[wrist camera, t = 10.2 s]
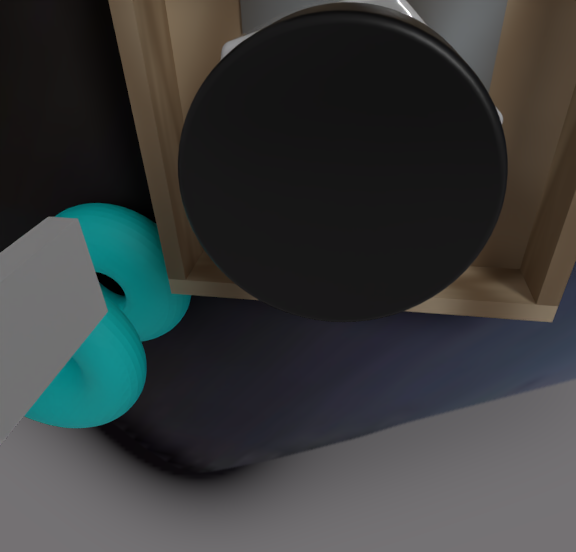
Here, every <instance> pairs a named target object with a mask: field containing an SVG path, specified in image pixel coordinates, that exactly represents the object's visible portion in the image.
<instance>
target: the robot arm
mask: <svg viewBox="0 0 576 552" xmlns="http://www.w3.org/2000/svg"><path fill="white" fill-rule="evenodd" d="M107 312H108V309H107V306H106V303H105V300H104V297H103V294H102V291H101V288H100V285H99V282H98V278H97V275H96V272H95V269H94V266H93V263H92V260H91V257H90V254H89V251H88V248H87V245H86V242H85V239H84V235H83V232H82V229H81V226H80V223H79V220H78V218H62V217H47V218H46V219H45V220H43V221H42V222H41V223H39V224H38V225H37V226H35V227H34V228H33V229H31V230H30V231H29V232H27V233H26V234H25V235H23V236H22V237H21V238H19V239H18V240H17V241H15V242H14V243H13V244H11V245H10V246H9V247H7V248H6V249H5V250H3V251H2V252H1V253H0V445H1V444H2V443H3V442H4V440H5V439H6V438H7V437H8V435H9V434H10V433H11V432H12V430H13V429H14V428H15V427H16V425H17V424H18V423H19V422H20V420H21V419H22V418H23V417H24V416H25V414H26V413H27V412H28V411H29V409H30V408H31V407H32V406H33V404H34V403H35V402H36V401H37V399H38V398H39V397H40V396H41V394H42V393H43V392H44V391H45V389H46V388H47V387H48V386H49V384H50V383H51V382H52V381H53V379H54V378H55V377H56V376H57V374H58V373H59V372H60V371H61V369H62V368H63V367H64V366H65V364H66V363H67V362H68V361H69V359H70V358H71V357H72V356H73V354H74V353H75V352H76V351H77V350H78V348H79V347H80V346H81V345H82V343H83V342H84V341H85V340H86V338H87V337H88V336H89V335H90V333H91V332H92V331H93V330H94V328H95V327H96V326H97V325H98V323H99V322H100V321H101V320H102V318H103V317H104V316H105V315H106V313H107Z"/></svg>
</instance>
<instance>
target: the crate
mask: <svg viewBox="0 0 576 552" xmlns="http://www.w3.org/2000/svg"><path fill="white" fill-rule="evenodd" d="M108 1H109V6H110V11H111V15H112V20H113V24H114V29H115V34H116V38H117V43H118V48H119V52H120V57H121V62H122V66H123V71H124V75H125V80H126V85H127V89H128V94H129V99H130V103H131V108H132V113H133V117H134V122H135V126H136V131H137V136H138V140H139V145H140V150H141V154H142V159H143V164H144V168H145V173H146V177H147V182H148V187H149V191H150V196H151V201H152V205H153V210H154V215H155V219H156V224H157V229H158V233H159V238H160V242H161V247H162V252H163V256H164V261H165V266H166V270H167V275H168V280H169V284H170V289H171V293H172V294H184V295H197V296H210V297H224V298H237V299H250V300H258V299H256V298H255V297H253V296H252V295H250V294H249V293H247V292H246V291H244V290H243V289H241V288H240V287H239V286H238V285H236V284H235V283H234V282H233V281H231V280H230V279H229V278H228V277H227V276H226V275H225V274H224V273H223V272H222V271H221V270H220V269H219V268H218V267H217V266H216V265H215V263H214V262H213V261H212V260H211V258H210V257H209V256H208V254H207V253H206V252H205V250H204V249H203V247H202V246H201V244H200V243H199V241H198V239H197V237H196V235H195V233H194V232H193V230H192V227H191V225H190V223H189V220H188V218H187V215H186V212H185V209H184V206H183V203H182V198H181V193H180V188H179V179H178V152H179V143H180V138H181V132H182V128H183V125H184V122H185V118H186V115H187V113H188V110H189V108H190V105H191V103H192V101H193V99H194V97H195V95H196V93H197V92H198V90H199V88H200V86H201V85H202V83H203V82H204V80H205V79H206V77H207V76H208V75H209V73H210V72H211V71H212V70H213V68H214V67H215V66H216V65H217V64H218V63H219V62H220V59H221V51H222V47H223V45H224V44H225V43H226V42H228V41H230V40H232V39H234V38H236V37H238V36H240V35H242V34H244V33H245V32H247V31H249V30H251V29H253V28H255V27H257V26H259V25H261V24H263V23H265V22H267V21H269V20H271V19H273V18H275V17H276V16H278V15H280V14H282V13H284V12H287V11H290V10H292V9H295V8H298V7H301V6H303V5H306V4H309V3H311V2H314V1H317V0H108ZM408 1H409V2H410V4H411V5H412V6H413V7H414V8H415V10H416V11H417V12H418V13H419V14H420V16H421V17H422V18H423V19H424V20H425V22H426V23H427V24H428V25H429V26H430V27H431V29H433V30H434V31H435V32H437V33H438V34H439V35H440V36H442V37H443V38H444V39H445V40H446V41H447V42H448V43H449V44H450V45H451V46H452V47H453V48H454V49H455V50H456V51H457V53H458V54H459V55H460V56H461V57H462V58H463V59H464V60H465V62H466V63H467V64H468V65H469V66H470V67H471V68H472V70H473V71H474V72H475V73H476V75H477V76H478V77H479V79H480V80H481V82H482V83H483V85H484V86H485V88H486V90H487V91H488V93H489V95H490V97H491V99H492V101H493V103H494V105H495V106H496V107H497V108H498V110H499V111H500V112H501V113H502V115H503V123H502V127H503V130H504V135H505V140H506V147H507V157H508V176H507V186H506V193H505V198H504V202H503V206H502V209H501V213H500V216H499V219H498V221H497V223H496V226H495V228H494V230H493V233H492V235H491V236H490V238H489V240H488V242H487V243H486V245H485V247H484V248H483V250H482V251H481V252H480V254H479V255H478V257H477V258H476V259H475V261H474V262H473V263H472V264H471V265H470V266H469V268H468V269H467V270H466V271H465V272H464V273H463V274H462V275H461V276H460V277H459V278H458V279H457V280H455V281H454V282H453V283H452V284H450V285H449V286H448V287H447V288H445V289H444V290H443V291H441V292H440V293H438V294H437V295H435V296H434V297H432V298H430V299H428V300H427V301H425V302H423V303H421V304H419V305H417V306H415V307H413V308H410V309H408V310H405V311H410V312H423V313H436V314H450V315H463V316H476V317H489V318H503V319H516V320H529V321H543V322H552V321H553V319H554V316H555V313H556V311H557V308H558V306H559V303H560V300H561V298H562V295H563V292H564V290H565V287H566V284H567V282H568V279H569V277H570V274H571V271H572V269H573V266H574V263H575V261H576V0H408Z"/></svg>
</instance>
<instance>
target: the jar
mask: <svg viewBox="0 0 576 552" xmlns="http://www.w3.org/2000/svg"><path fill="white" fill-rule="evenodd" d="M502 123H503V115H502V113H501V112H500V111H499V110H498V108H497V107H496V106H495V105H494V103H493V101H492V99H491V97H490V95H489V93H488V91H487V90H486V88H485V86H484V85H483V83H482V82H481V80H480V79H479V77H478V76H477V75H476V73H475V72H474V71H473V70H472V68H471V67H470V66H469V65H468V64H467V63H466V62H465V60H464V59H463V58H462V57H461V56H460V55H459V54H458V53H457V51H456V50H455V49H454V48H453V47H452V46H451V45H450V44H449V43H448V42H447V41H446V40H445V39H444V38H443V37H442V36H440V35H439V34H438V33H437V32H435V31H434V30H433V29H431V27H430V26H429V25H428V24H427V23H426V22H425V20H424V19H423V18H422V17H421V16H420V14H419V13H418V12H417V11H416V10H415V8H414V7H413V6H412V5H411V4H410V2H409V1H408V0H317V1H314V2H311V3H309V4H306V5H303V6H301V7H298V8H295V9H292V10H290V11H287V12H284V13H282V14H280V15H278V16H276V17H275V18H273V19H271V20H269V21H267V22H265V23H263V24H261V25H259V26H257V27H255V28H253V29H251V30H249V31H247V32H245V33H244V34H242V35H240V36H238V37H236V38H234V39H232V40H230V41H228V42H226V43H225V44H224V45H223V47H222V51H221V59H220V62H219V63H218V64H217V65H216V66H215V67H214V68H213V70H212V71H211V72H210V73H209V75H208V76H207V77H206V79H205V80H204V82H203V83H202V85H201V86H200V88H199V90H198V92H197V93H196V95H195V97H194V99H193V101H192V103H191V105H190V108H189V110H188V113H187V115H186V118H185V122H184V125H183V128H182V132H181V138H180V143H179V152H178V179H179V188H180V193H181V198H182V203H183V206H184V209H185V212H186V215H187V218H188V220H189V223H190V225H191V227H192V230H193V232H194V233H195V235H196V237H197V239H198V241H199V243H200V244H201V246H202V247H203V249H204V250H205V252H206V253H207V254H208V256H209V257H210V258H211V260H212V261H213V262H214V263H215V265H216V266H217V267H218V268H219V269H220V270H221V271H222V272H223V273H224V274H225V275H226V276H227V277H228V278H229V279H230V280H231V281H233V282H234V283H235V284H236V285H238V286H239V287H240V288H241V289H243V290H244V291H246V292H247V293H249V294H250V295H252V296H253V297H255V298H256V299H258V300H260V301H262V302H264V303H266V304H268V305H270V306H272V307H274V308H276V309H279V310H282V311H284V312H287V313H290V314H293V315H297V316H300V317H304V318H309V319H314V320H322V321H331V322H356V321H366V320H372V319H378V318H383V317H386V316H390V315H394V314H397V313H400V312H403V311H405V310H408V309H410V308H413V307H415V306H417V305H419V304H421V303H423V302H425V301H427V300H428V299H430V298H432V297H434V296H435V295H437V294H438V293H440V292H441V291H443V290H444V289H445V288H447V287H448V286H449V285H450V284H452V283H453V282H454V281H455V280H457V279H458V278H459V277H460V276H461V275H462V274H463V273H464V272H465V271H466V270H467V269H468V268H469V266H470V265H471V264H472V263H473V262H474V261H475V259H476V258H477V257H478V255H479V254H480V252H481V251H482V250H483V248H484V247H485V245H486V243H487V242H488V240H489V238H490V236H491V235H492V233H493V230H494V228H495V226H496V223H497V221H498V219H499V216H500V213H501V209H502V206H503V202H504V198H505V193H506V186H507V176H508V157H507V147H506V140H505V135H504V130H503V127H502Z"/></svg>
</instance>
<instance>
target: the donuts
mask: <svg viewBox="0 0 576 552" xmlns="http://www.w3.org/2000/svg"><path fill="white" fill-rule="evenodd" d="M55 217H62V218H78V220H79V223H80V226H81V229H82V232H83V235H84V239H85V242H86V245H87V248H88V251H89V254H90V257H91V260H92V263H93V266H94V269H95V272H99V273H102V274H105V275H107V276H109V277H111V278H112V279H114V280H115V281H116V282H117V283H118V284H119V285H120V286H121V288H122V289H123V291H124V293H125V296H122V295H119V294H116V293H114V292H112V291H110V290H109V289H107V288H106V287H104V286H103V285H102V284H101V283H100V282H99V281H98V282H99V285H100V288H101V291H102V294H103V297H104V300H105V303H106V306H107V309H108V312H107V313H106V315H105V316H104V317H103V318H102V320H101V321H100V322H99V323H98V325H97V326H96V327H95V328H94V330H93V331H92V332H91V333H90V335H89V336H88V337H87V338H86V340H85V341H84V342H83V343H82V345H81V346H80V347H79V348H78V350H77V351H76V352H75V353H74V354H73V356H72V357H71V358H70V359H69V361H68V362H67V363H66V364H65V366H64V367H63V368H62V369H61V371H60V372H59V373H58V374H57V376H56V377H55V378H54V379H53V381H52V382H51V383H50V384H49V386H48V387H47V388H46V389H45V391H44V392H43V393H42V394H41V396H40V397H39V398H38V399H37V401H36V402H35V403H34V404H33V406H32V407H31V408H30V409H29V411H28V412H27V413H26V414H25V417H27V418H29V419H32V420H35V421H38V422H41V423H45V424H48V425H52V426H58V427H65V428H87V427H95V426H99V425H102V424H106V423H109V422H111V421H113V420H115V419H117V418H118V417H120V416H122V415H123V414H124V413H126V412H127V411H128V410H129V409H130V408H131V407H132V406H133V405H134V403H135V402H136V401H137V399H138V397H139V396H140V394H141V392H142V390H143V387H144V383H145V379H146V372H147V367H146V355H145V351H144V348H143V345H142V342H141V341H147V340H151V339H154V338H157V337H159V336H161V335H163V334H165V333H167V332H169V331H170V330H171V329H173V328H174V327H175V326H176V325H177V324H178V323H179V322H180V321H181V319H182V318H183V316H184V315H185V313H186V311H187V309H188V306H189V303H190V299H191V295H184V294H172V293H171V289H170V284H169V280H168V275H167V270H166V266H165V261H164V256H163V252H162V247H161V242H160V238H159V233H158V229H157V224H156V223H154V222H153V221H151V220H150V219H148V218H147V217H145V216H143V215H141V214H139V213H137V212H135V211H133V210H130V209H128V208H125V207H122V206H118V205H113V204H105V203H87V204H81V205H77V206H74V207H71V208H68V209H66V210H64V211H62V212H61V213H59V214H58V215H56V216H55Z"/></svg>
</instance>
